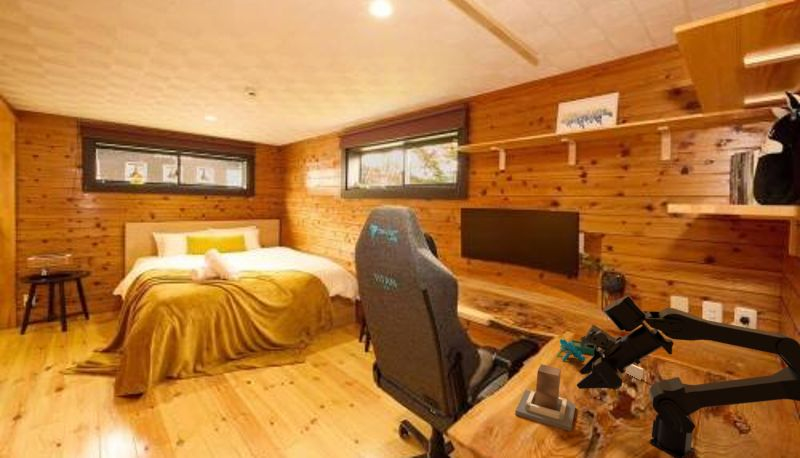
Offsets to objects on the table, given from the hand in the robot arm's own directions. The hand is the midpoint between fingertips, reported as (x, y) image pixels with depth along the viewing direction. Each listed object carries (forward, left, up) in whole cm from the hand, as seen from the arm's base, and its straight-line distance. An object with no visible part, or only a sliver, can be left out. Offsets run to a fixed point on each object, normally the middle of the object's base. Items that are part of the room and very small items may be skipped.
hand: (579, 379), depth 95 cm
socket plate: (+6, +4, -10) cm, 13 cm away
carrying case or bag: (+31, -60, -11) cm, 69 cm away
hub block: (+6, +4, -9) cm, 12 cm away
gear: (+26, -33, -11) cm, 43 cm away
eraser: (+8, -41, -11) cm, 43 cm away
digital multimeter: (+28, -48, -11) cm, 56 cm away
